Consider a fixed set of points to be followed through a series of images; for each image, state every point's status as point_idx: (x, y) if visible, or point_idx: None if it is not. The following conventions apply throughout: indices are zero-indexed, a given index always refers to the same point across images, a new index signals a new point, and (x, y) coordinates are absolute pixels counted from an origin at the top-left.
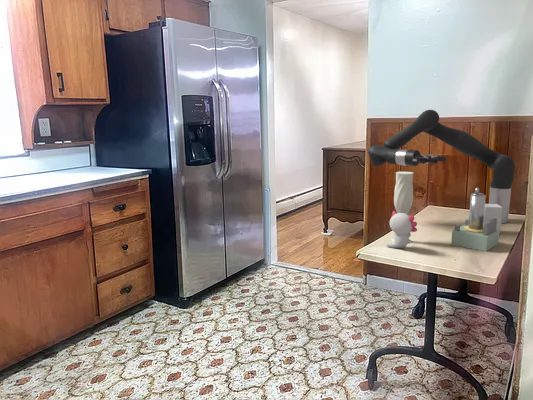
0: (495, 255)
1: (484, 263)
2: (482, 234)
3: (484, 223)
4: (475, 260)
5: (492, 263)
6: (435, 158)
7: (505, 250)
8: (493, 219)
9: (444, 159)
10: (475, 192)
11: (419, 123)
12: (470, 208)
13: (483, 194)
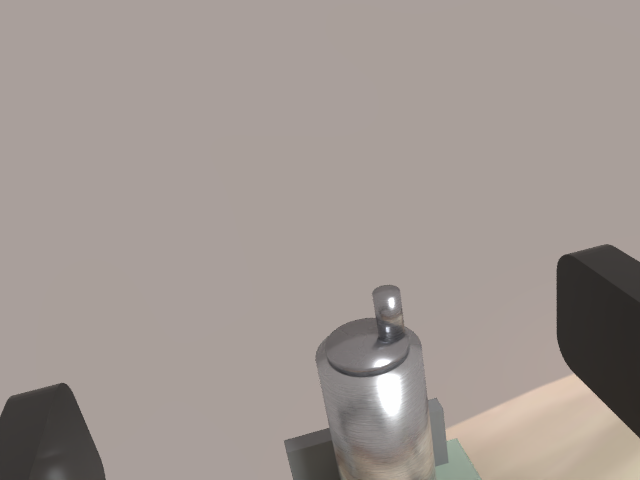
0: (468, 448)
1: (594, 409)
2: (439, 473)
3: (442, 408)
4: (609, 441)
5: (561, 400)
6: (625, 257)
7: None
8: (317, 438)
9: (84, 457)
10: (402, 323)
11: None
12: (427, 443)
13: (358, 320)
